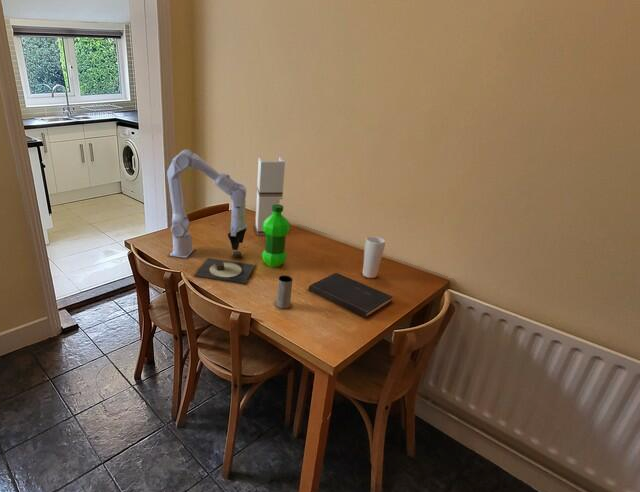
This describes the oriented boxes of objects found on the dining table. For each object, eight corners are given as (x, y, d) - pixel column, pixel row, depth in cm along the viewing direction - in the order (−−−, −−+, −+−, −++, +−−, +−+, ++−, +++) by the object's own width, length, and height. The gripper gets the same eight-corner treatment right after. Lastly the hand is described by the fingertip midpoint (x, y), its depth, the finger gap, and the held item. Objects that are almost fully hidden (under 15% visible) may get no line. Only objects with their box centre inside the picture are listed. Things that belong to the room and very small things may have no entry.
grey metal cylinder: (275, 301, 142) (277, 275, 137) (288, 301, 142) (290, 275, 137) (278, 309, 137) (280, 282, 133) (291, 308, 138) (294, 281, 133)
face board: (208, 259, 173) (208, 257, 172) (254, 266, 167) (254, 264, 166) (194, 276, 159) (194, 274, 159) (244, 284, 153) (245, 282, 153)
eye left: (216, 266, 165) (216, 261, 164) (225, 267, 164) (225, 262, 163) (213, 269, 162) (213, 265, 161) (222, 271, 161) (222, 266, 160)
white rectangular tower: (279, 235, 196) (284, 162, 182) (257, 235, 197) (260, 162, 182) (276, 226, 207) (281, 156, 192) (255, 226, 207) (258, 156, 192)
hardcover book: (335, 277, 157) (335, 272, 156) (391, 302, 141) (392, 296, 140) (308, 291, 148) (308, 285, 147) (365, 318, 132) (366, 312, 131)
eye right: (234, 255, 177) (234, 250, 176) (242, 256, 175) (242, 251, 175) (231, 258, 173) (232, 254, 173) (240, 259, 172) (240, 255, 172)
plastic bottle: (288, 261, 170) (293, 203, 160) (282, 272, 162) (286, 211, 151) (265, 257, 174) (269, 200, 164) (257, 267, 166) (260, 208, 155)
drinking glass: (378, 272, 161) (385, 237, 154) (378, 280, 155) (385, 244, 148) (360, 270, 163) (366, 235, 156) (360, 278, 157) (366, 242, 150)
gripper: (243, 222, 159) (242, 254, 165) (252, 210, 171) (250, 240, 177) (225, 220, 161) (225, 251, 167) (235, 209, 174) (235, 238, 179)
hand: (237, 246), depth 172 cm, fingers open, 7 cm apart
